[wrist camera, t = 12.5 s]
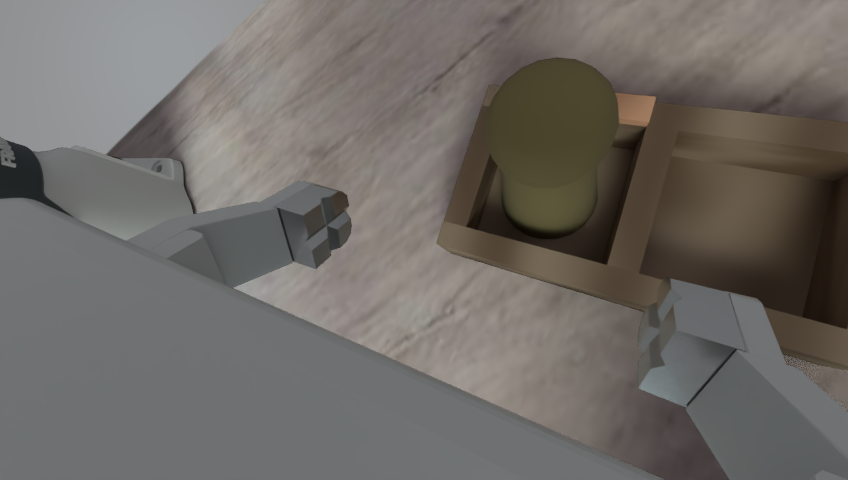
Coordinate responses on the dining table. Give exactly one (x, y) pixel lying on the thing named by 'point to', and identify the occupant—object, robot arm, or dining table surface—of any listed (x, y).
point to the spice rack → (690, 217)
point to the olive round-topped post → (551, 144)
